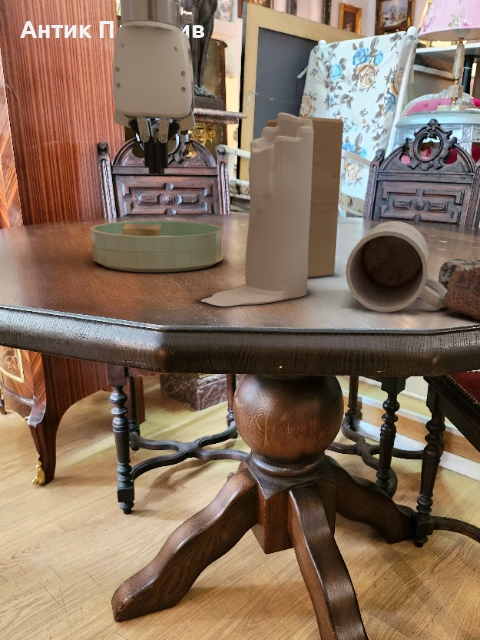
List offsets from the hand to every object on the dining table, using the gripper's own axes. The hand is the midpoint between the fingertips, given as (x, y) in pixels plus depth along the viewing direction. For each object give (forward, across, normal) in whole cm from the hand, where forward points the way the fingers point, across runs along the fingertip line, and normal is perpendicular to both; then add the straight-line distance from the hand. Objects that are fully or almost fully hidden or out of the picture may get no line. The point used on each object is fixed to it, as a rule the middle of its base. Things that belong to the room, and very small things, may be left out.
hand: (156, 173), depth 77 cm
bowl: (+13, +1, -4) cm, 13 cm away
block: (+12, +2, 0) cm, 12 cm away
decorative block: (+12, -20, +1) cm, 24 cm away
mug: (+9, -32, +15) cm, 37 cm away
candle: (+13, -15, +18) cm, 26 cm away
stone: (+11, -38, +23) cm, 46 cm away
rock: (+11, -46, +16) cm, 50 cm away
